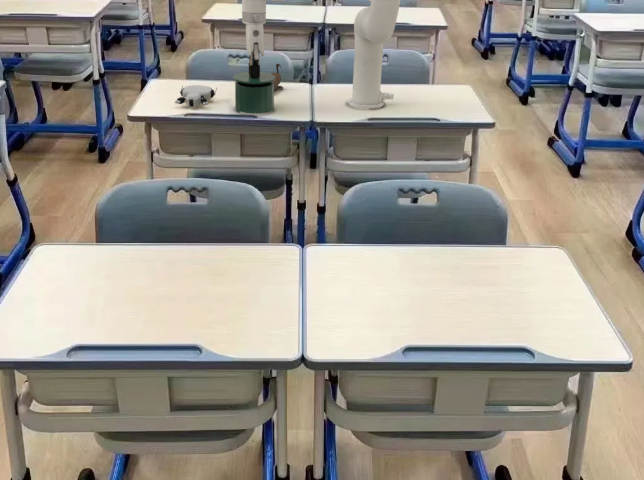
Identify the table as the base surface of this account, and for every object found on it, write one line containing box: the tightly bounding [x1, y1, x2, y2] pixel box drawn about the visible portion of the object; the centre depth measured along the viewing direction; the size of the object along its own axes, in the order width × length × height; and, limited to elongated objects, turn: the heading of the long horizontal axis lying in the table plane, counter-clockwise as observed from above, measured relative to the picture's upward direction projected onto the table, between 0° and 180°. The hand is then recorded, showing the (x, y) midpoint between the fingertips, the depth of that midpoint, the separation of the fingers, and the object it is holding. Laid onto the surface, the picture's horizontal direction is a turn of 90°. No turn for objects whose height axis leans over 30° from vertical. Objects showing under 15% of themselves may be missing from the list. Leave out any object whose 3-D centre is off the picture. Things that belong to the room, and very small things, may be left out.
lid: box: [232, 61, 275, 84], centre depth 266 cm, size 14×14×6 cm
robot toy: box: [174, 84, 218, 108], centre depth 276 cm, size 12×4×15 cm
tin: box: [234, 81, 275, 115], centre depth 270 cm, size 13×13×9 cm
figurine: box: [271, 63, 284, 94], centre depth 293 cm, size 14×4×9 cm, turn 163°
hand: (254, 75), depth 267 cm, fingers closed on lid, 2 cm apart
